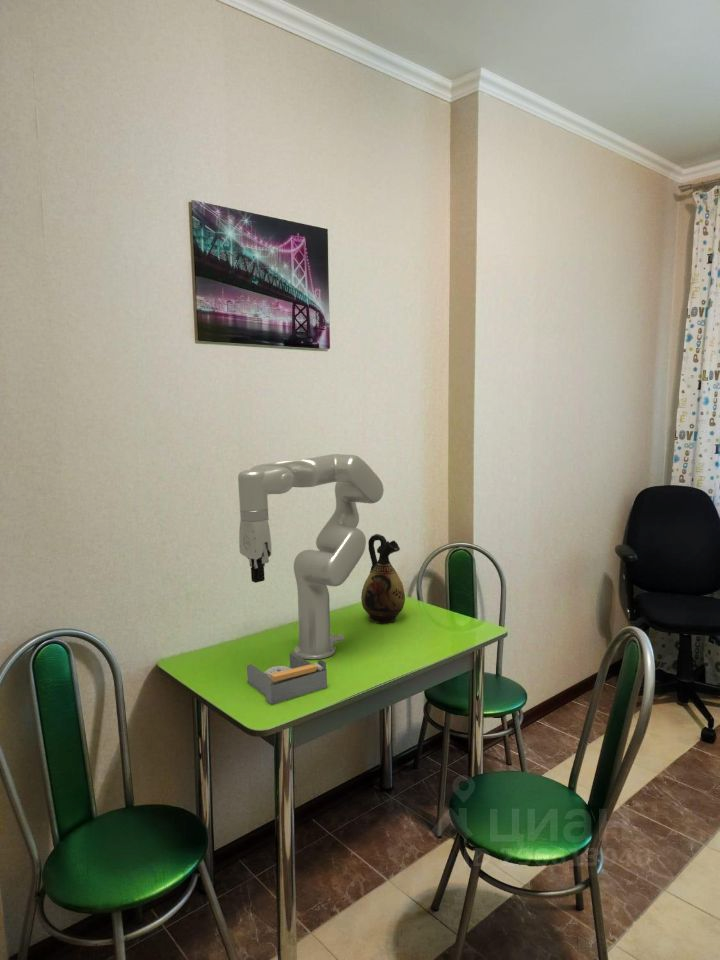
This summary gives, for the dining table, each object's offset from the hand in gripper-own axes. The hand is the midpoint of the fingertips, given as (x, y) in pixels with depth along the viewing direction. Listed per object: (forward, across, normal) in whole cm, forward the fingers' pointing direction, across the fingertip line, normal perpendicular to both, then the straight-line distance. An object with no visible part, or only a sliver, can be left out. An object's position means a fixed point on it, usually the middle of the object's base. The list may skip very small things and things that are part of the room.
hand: (258, 581), depth 176 cm
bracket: (+27, +10, +1) cm, 29 cm away
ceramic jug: (+29, -14, +56) cm, 65 cm away
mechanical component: (+28, +9, 0) cm, 29 cm away
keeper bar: (+22, +16, 0) cm, 27 cm away
